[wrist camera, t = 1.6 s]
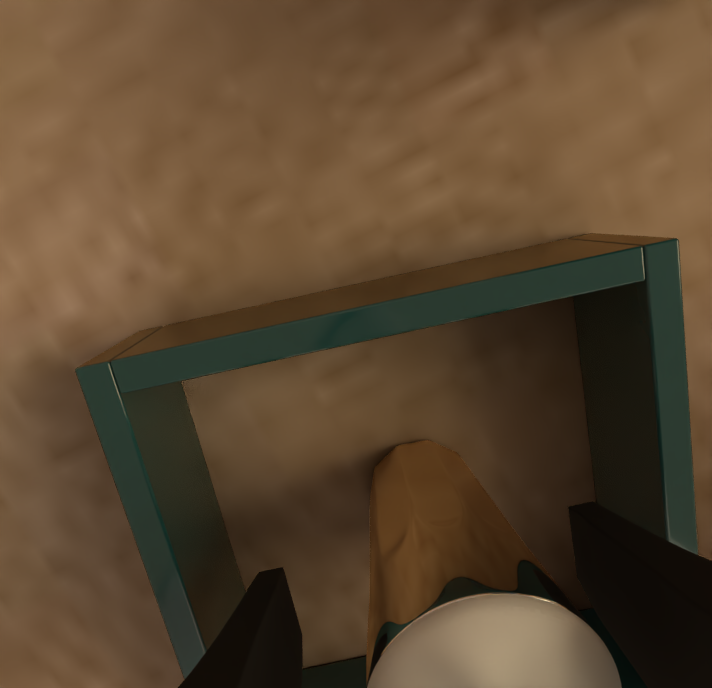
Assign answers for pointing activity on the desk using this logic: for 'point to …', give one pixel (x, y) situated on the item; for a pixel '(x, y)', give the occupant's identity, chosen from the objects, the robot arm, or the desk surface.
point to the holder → (381, 319)
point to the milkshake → (464, 589)
